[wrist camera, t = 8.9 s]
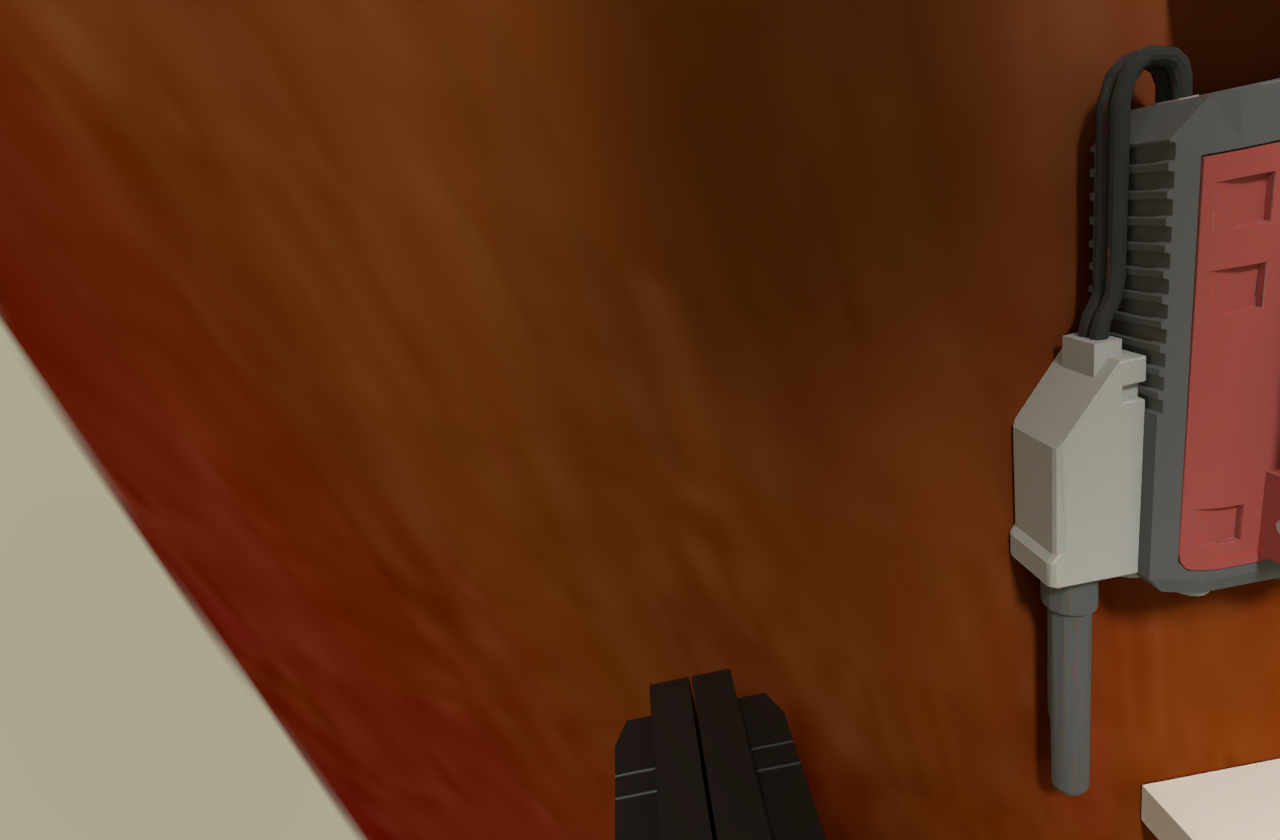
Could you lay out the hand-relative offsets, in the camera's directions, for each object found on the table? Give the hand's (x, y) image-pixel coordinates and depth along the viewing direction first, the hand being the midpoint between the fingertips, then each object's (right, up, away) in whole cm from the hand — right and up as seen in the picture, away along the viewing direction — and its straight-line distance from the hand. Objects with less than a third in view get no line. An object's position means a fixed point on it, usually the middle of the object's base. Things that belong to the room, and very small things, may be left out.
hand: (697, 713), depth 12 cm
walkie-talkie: (+13, +5, +6) cm, 15 cm away
